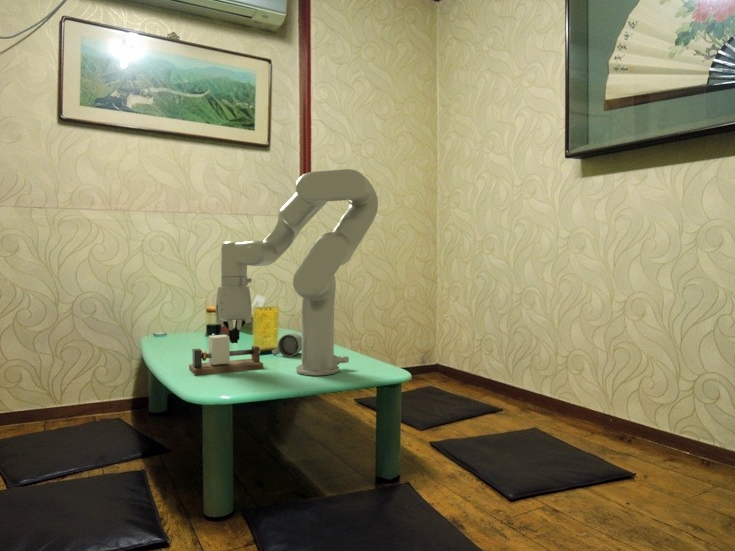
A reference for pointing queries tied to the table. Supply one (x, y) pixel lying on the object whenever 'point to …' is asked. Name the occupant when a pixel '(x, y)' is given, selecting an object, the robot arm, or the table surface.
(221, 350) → the sleeve
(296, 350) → the ceramic mug
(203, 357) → the rod
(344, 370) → the table surface
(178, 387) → the table surface
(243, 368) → the board
